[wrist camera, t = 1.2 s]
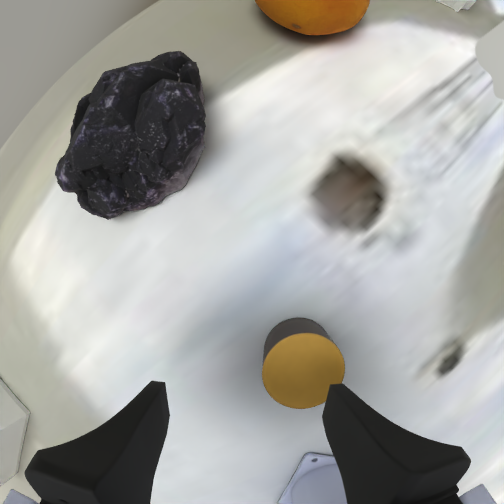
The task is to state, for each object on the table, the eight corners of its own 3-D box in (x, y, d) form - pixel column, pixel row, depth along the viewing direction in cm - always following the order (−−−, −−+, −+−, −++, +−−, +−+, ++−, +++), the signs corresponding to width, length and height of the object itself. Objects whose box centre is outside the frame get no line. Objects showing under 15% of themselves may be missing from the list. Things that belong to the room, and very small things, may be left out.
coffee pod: (339, 327, 22) (356, 345, 17) (317, 385, 22) (327, 415, 17) (275, 309, 22) (276, 323, 17) (255, 369, 22) (251, 397, 17)
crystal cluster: (59, 171, 24) (-14, 157, 14) (136, 55, 23) (89, 0, 13) (157, 250, 24) (94, 267, 14) (251, 115, 23) (241, 53, 13)
